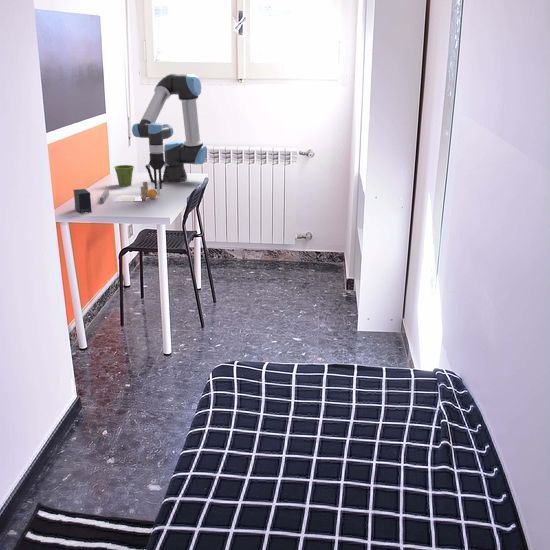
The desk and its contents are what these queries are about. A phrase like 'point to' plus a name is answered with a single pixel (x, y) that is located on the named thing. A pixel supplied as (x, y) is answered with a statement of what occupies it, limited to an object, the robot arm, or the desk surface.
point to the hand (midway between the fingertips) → (158, 194)
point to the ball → (151, 193)
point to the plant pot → (124, 174)
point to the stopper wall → (104, 196)
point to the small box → (82, 200)
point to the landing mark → (126, 198)
